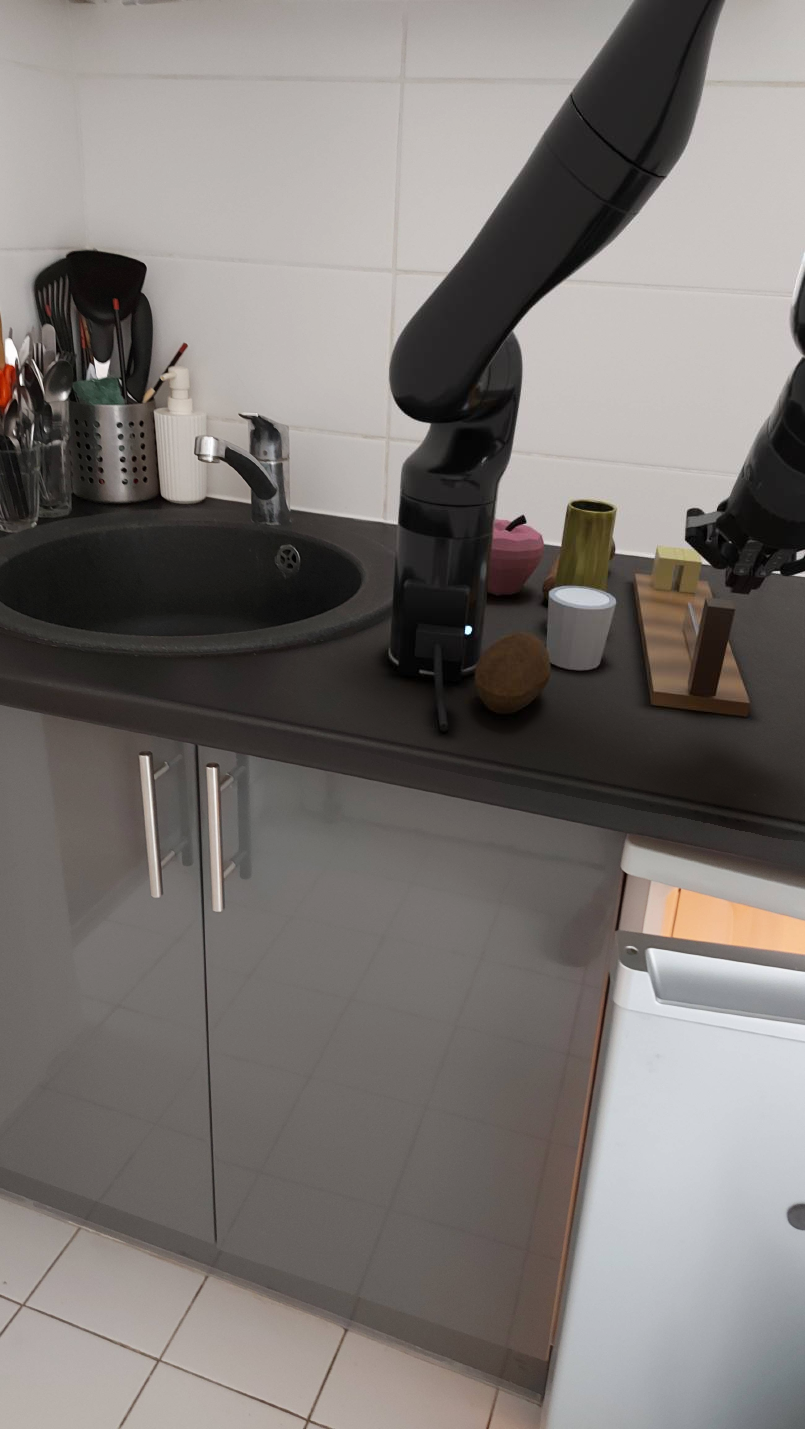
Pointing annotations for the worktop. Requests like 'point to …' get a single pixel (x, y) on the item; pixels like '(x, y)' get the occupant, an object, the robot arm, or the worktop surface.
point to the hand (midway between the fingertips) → (739, 583)
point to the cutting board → (681, 651)
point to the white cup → (578, 626)
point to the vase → (586, 544)
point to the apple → (513, 555)
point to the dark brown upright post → (708, 643)
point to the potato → (512, 672)
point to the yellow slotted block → (686, 570)
